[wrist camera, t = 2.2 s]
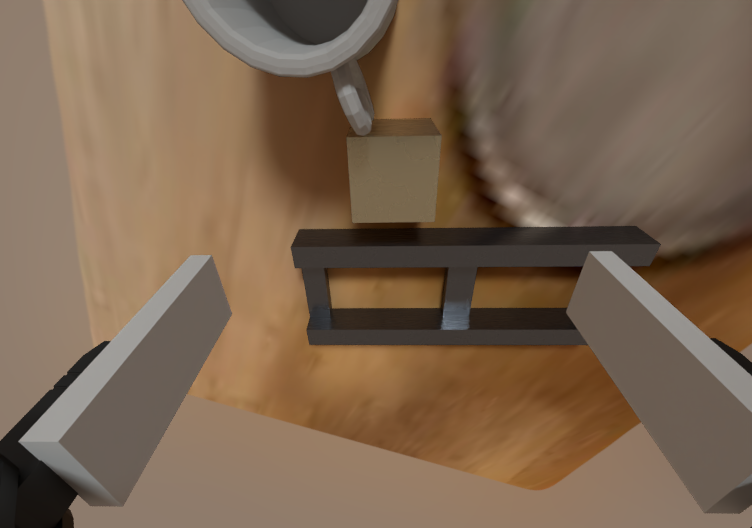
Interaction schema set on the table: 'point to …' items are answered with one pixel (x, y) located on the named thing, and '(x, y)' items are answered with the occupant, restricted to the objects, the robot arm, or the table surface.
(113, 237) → the table surface
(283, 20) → the mug
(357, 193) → the brushed top tan cube
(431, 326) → the rail
